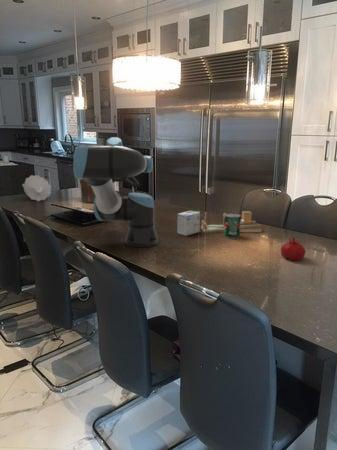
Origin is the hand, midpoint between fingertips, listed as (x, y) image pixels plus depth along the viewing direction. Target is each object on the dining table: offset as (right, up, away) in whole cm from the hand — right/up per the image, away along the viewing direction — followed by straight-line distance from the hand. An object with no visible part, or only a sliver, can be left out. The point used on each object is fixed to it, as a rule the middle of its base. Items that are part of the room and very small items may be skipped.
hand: (121, 197), depth 200 cm
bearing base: (+59, -18, 0) cm, 62 cm away
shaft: (+65, -16, 0) cm, 67 cm away
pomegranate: (+78, -29, -43) cm, 94 cm away
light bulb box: (+36, -19, -7) cm, 41 cm away
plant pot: (-31, +2, +70) cm, 77 cm away
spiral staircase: (-73, +4, +78) cm, 106 cm away
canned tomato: (+58, -21, -12) cm, 63 cm away
